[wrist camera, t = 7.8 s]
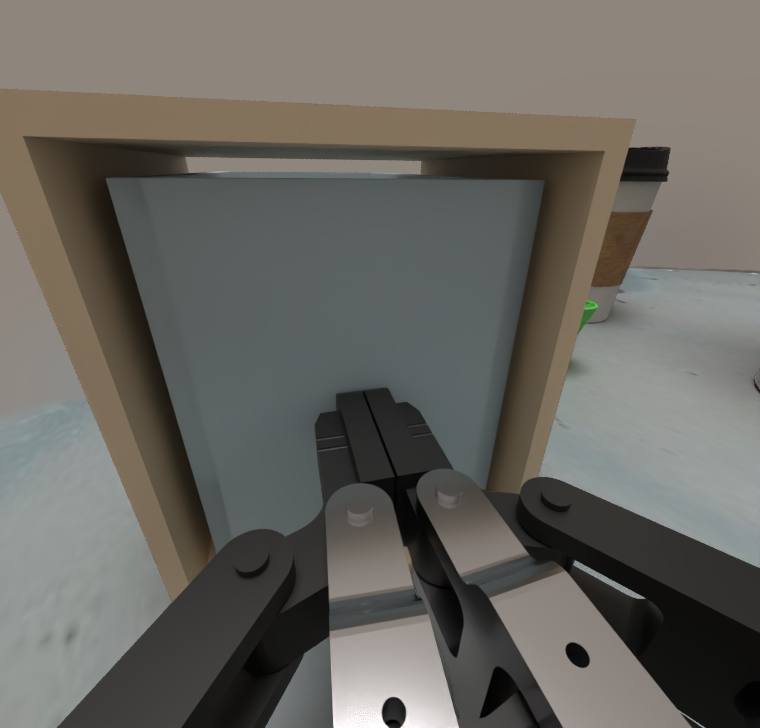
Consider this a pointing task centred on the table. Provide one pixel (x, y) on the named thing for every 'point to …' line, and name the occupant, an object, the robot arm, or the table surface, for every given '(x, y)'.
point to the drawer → (323, 316)
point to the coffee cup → (627, 223)
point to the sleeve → (285, 140)
